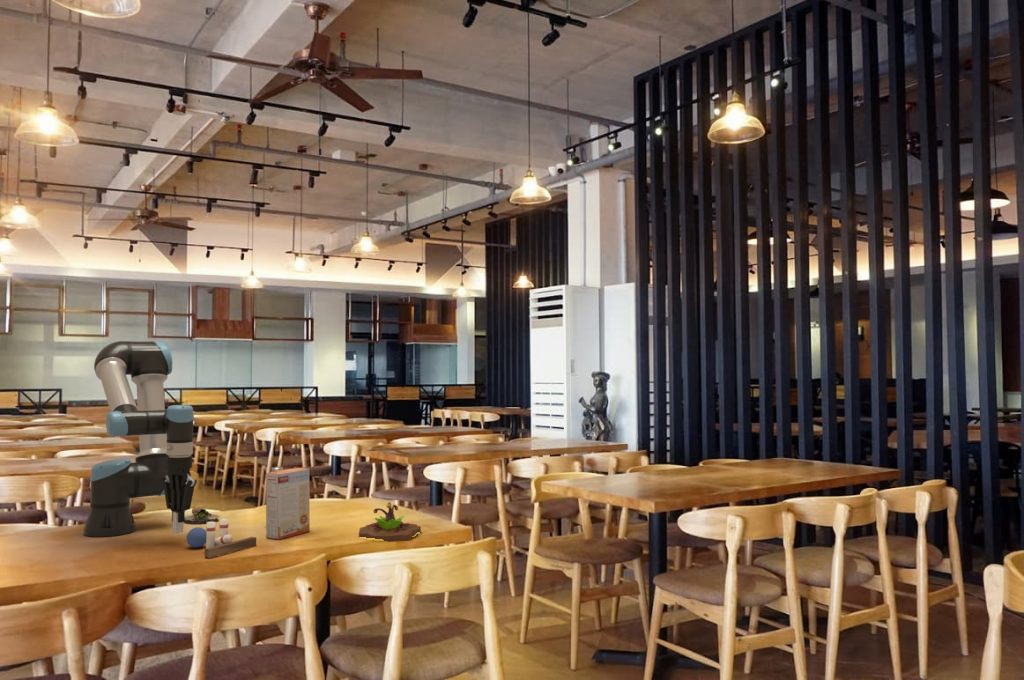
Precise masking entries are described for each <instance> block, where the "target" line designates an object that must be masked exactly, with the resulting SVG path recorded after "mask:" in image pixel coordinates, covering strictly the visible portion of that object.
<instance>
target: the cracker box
mask: <svg viewBox="0 0 1024 680" xmlns="http://www.w3.org/2000/svg"><path fill="white" fill-rule="evenodd" d="M265 503H266V504H265V510H266V512H265V513H266V514H265V516H266V517H265V519H266V521H265V522H266V524H265V525H266V527H265V528H266V530H265V532H266V534H265V535H266V537H265V538H266V539H271V540H283V539H285V538H290V537H294V536H297V535H301V534H305V533H309V532H311V531H310V529H311V528H310V525H311V524H310V522H311V518H310V513H311V512H310V511H311V510H310V468H305V467H295V468H288V469H283V470H281V471H275V472H271V471H270V472H266V473H265Z"/></svg>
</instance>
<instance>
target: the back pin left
mask: <svg viewBox="0 0 1024 680" xmlns="http://www.w3.org/2000/svg"><path fill="white" fill-rule="evenodd" d="M228 534H229V518H220V519H219V537H222V536H224V535H228Z"/></svg>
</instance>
